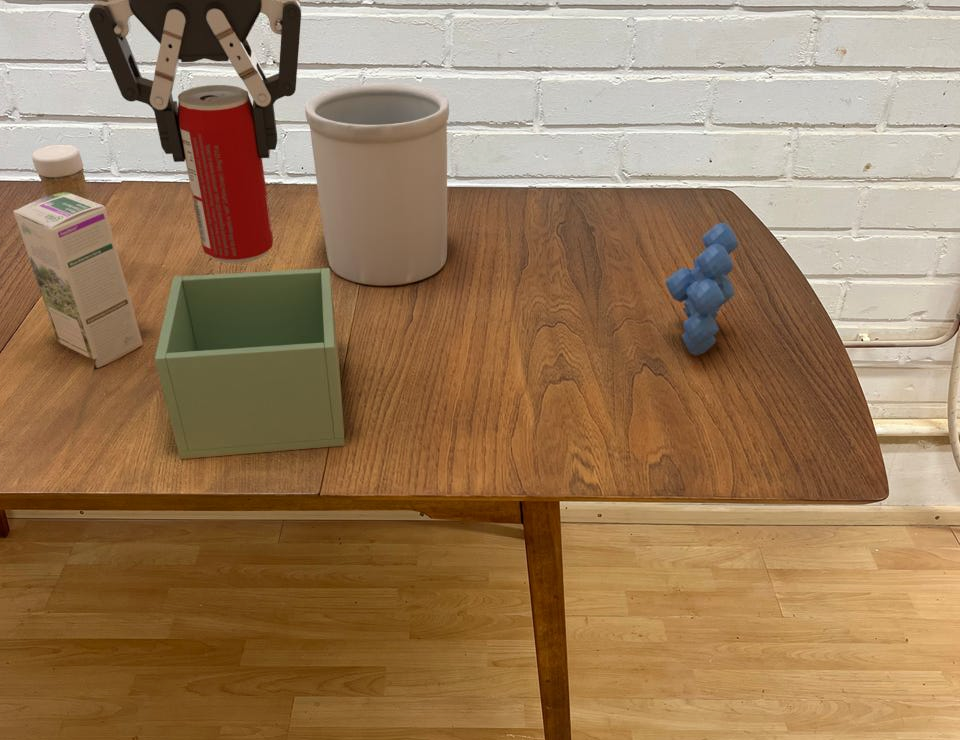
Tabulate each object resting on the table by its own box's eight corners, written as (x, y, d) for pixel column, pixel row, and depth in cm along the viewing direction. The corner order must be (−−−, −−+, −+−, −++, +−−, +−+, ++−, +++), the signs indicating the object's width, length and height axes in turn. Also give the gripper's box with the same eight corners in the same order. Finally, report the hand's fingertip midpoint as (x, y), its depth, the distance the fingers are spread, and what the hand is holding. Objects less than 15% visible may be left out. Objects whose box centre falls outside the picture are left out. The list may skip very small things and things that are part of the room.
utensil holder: (296, 255, 103) (276, 98, 92) (398, 221, 111) (391, 72, 100) (372, 303, 95) (360, 136, 84) (476, 262, 102) (479, 105, 91)
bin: (180, 459, 74) (154, 358, 68) (194, 370, 84) (173, 276, 78) (344, 446, 76) (334, 346, 69) (339, 360, 86) (329, 267, 80)
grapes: (666, 308, 95) (684, 199, 87) (730, 319, 93) (754, 209, 86) (646, 363, 86) (664, 248, 79) (716, 376, 85) (742, 260, 77)
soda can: (288, 250, 70) (268, 92, 63) (230, 272, 67) (201, 108, 60) (247, 229, 73) (223, 75, 66) (189, 249, 70) (156, 90, 63)
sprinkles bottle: (110, 260, 101) (78, 141, 93) (112, 277, 98) (79, 155, 90) (67, 265, 100) (31, 145, 92) (68, 284, 97) (30, 161, 88)
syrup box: (145, 345, 88) (108, 202, 78) (95, 371, 84) (50, 225, 74) (108, 327, 90) (68, 187, 81) (57, 352, 86) (9, 208, 77)
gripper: (294, -125, 59) (319, 135, 69) (66, -126, 57) (128, 142, 67) (294, -110, 53) (322, 171, 64) (40, -110, 51) (113, 180, 62)
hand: (222, 155), depth 66 cm, fingers closed on soda can, 5 cm apart
